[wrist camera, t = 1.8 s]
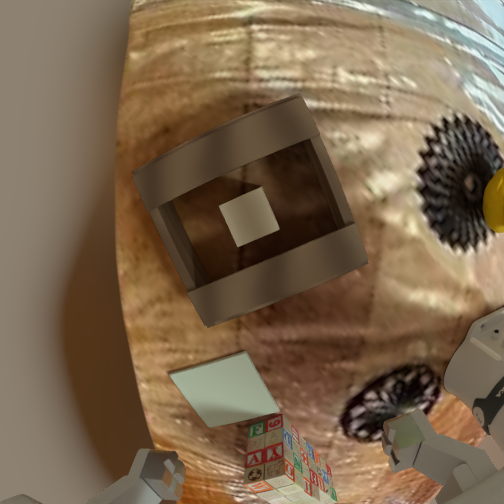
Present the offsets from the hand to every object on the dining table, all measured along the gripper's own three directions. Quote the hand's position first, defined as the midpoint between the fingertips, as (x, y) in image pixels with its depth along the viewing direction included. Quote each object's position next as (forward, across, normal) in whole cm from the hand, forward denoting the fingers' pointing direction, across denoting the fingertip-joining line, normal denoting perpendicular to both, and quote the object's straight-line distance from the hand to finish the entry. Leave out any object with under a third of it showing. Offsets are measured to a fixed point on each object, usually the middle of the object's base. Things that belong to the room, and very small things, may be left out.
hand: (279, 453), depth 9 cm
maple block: (+25, 0, -7) cm, 26 cm away
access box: (+25, 0, -7) cm, 26 cm away
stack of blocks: (+26, +1, +35) cm, 43 cm away
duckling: (+24, -33, -3) cm, 42 cm away
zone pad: (+25, +9, +18) cm, 32 cm away
